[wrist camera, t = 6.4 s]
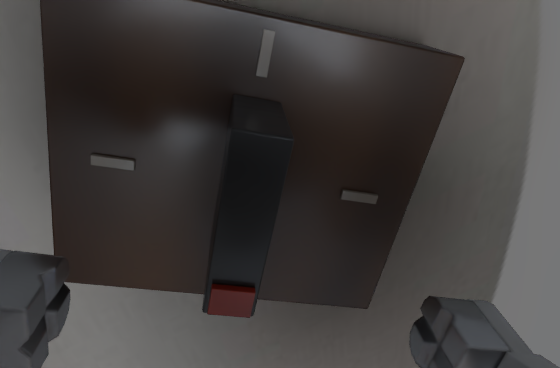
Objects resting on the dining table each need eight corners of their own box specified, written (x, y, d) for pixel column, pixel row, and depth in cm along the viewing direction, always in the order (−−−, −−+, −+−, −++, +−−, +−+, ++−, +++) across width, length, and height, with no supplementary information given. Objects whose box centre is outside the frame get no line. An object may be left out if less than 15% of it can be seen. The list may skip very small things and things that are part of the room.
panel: (427, 45, 15) (469, 58, 13) (351, 266, 20) (369, 312, 17) (77, -31, 13) (33, -36, 10) (82, 238, 18) (52, 284, 15)
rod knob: (233, 93, 13) (230, 131, 9) (281, 102, 13) (296, 142, 10) (209, 246, 15) (201, 319, 12) (250, 251, 15) (253, 323, 12)
